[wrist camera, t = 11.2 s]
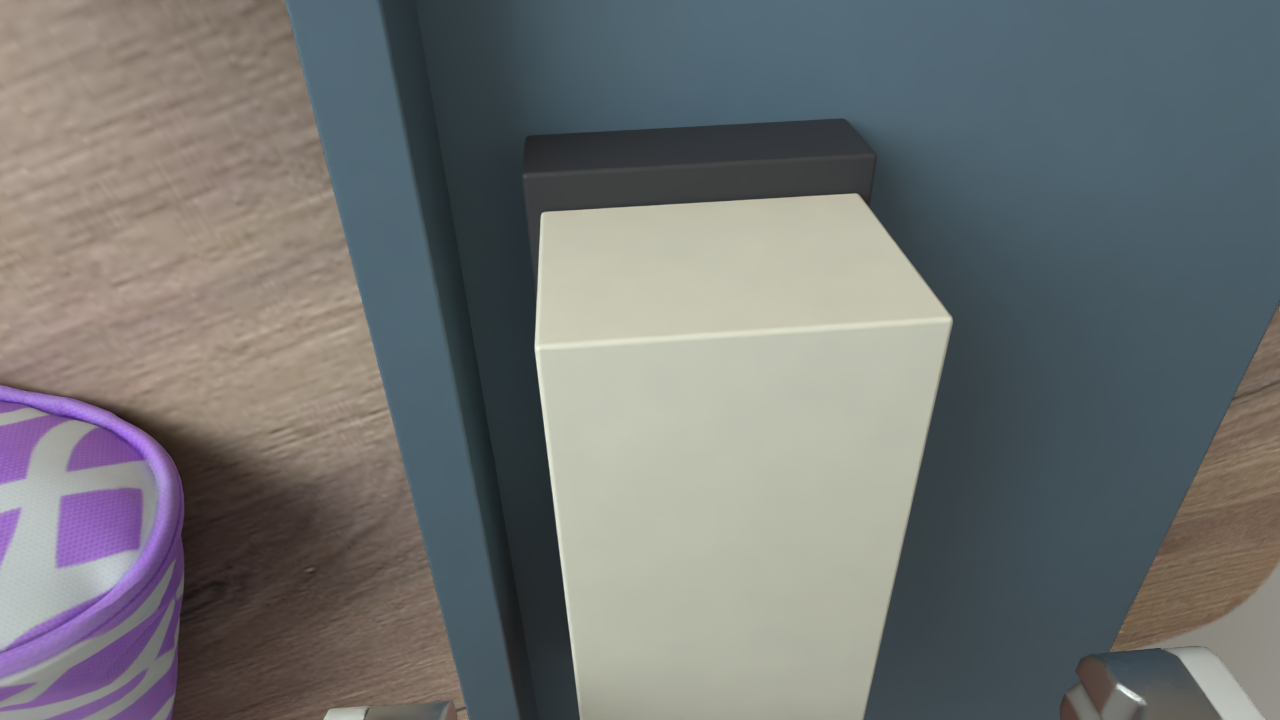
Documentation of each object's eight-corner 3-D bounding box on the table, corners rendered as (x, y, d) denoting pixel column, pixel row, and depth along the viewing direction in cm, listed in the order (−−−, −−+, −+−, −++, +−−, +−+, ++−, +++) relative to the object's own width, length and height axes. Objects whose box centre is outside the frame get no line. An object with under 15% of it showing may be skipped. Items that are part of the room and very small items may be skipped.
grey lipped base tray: (1268, -385, 14) (1930, -557, 7) (972, 577, 27) (1103, 824, 21) (357, -365, 13) (144, -539, 6) (522, 615, 26) (510, 884, 20)
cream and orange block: (524, 134, 11) (506, 304, 8) (845, 117, 12) (986, 272, 8) (582, 657, 18) (589, 886, 14) (784, 639, 19) (844, 860, 15)
